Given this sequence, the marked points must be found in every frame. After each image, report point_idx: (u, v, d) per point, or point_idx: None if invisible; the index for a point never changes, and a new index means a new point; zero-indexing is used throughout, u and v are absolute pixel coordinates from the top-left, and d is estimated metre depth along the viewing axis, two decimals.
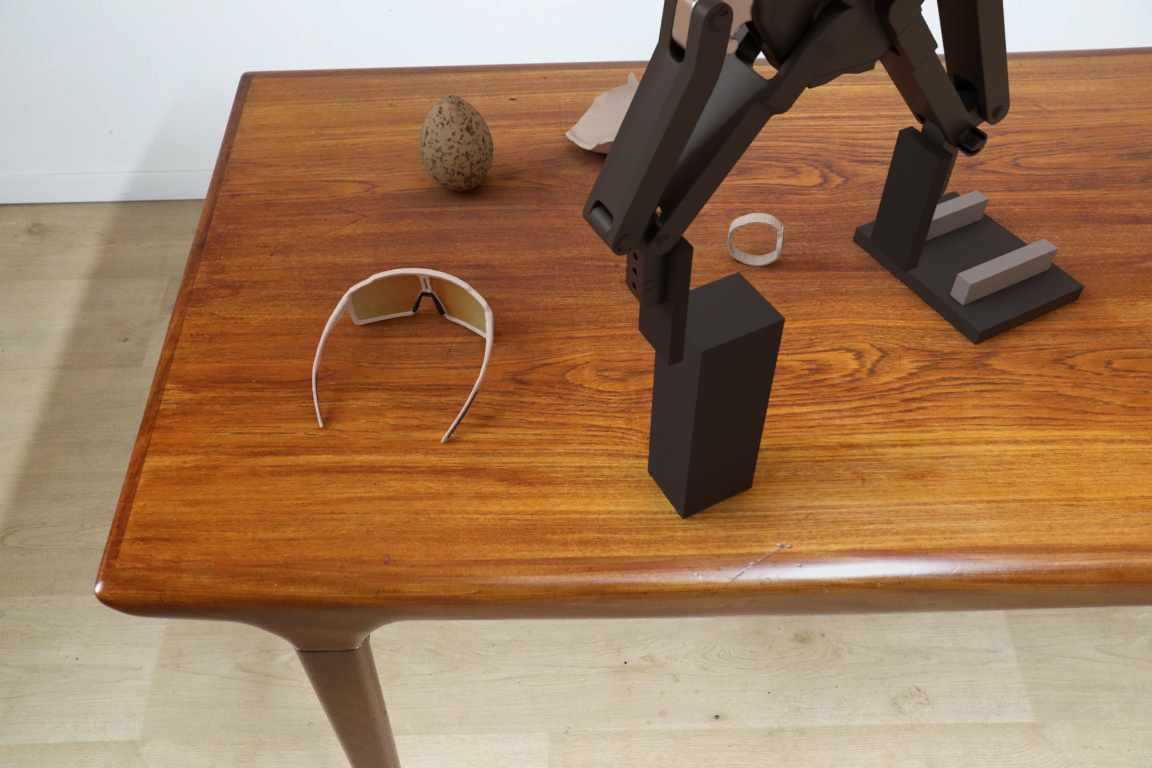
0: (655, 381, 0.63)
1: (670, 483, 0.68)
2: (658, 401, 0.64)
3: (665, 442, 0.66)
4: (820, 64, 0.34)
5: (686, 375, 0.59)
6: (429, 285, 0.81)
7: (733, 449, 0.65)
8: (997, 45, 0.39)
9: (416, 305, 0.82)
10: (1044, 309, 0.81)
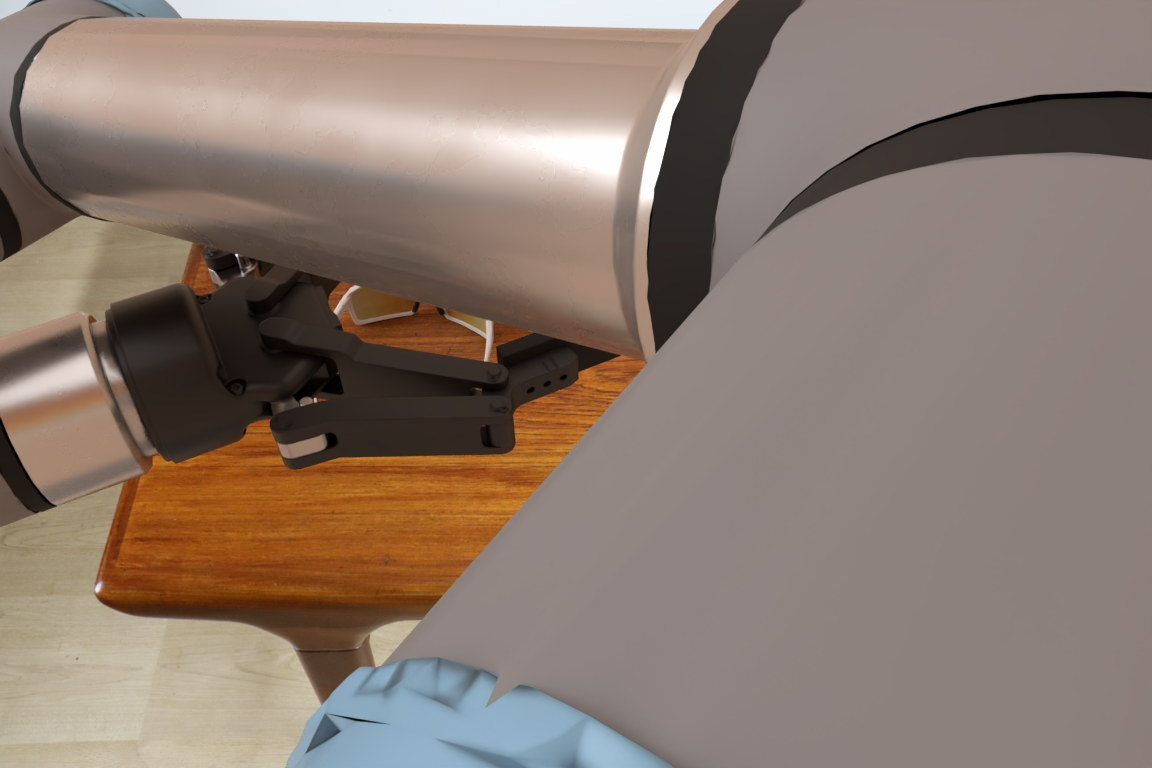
0: None
1: None
2: None
3: None
4: (309, 328, 0.41)
5: None
6: None
7: None
8: None
9: (416, 305, 0.82)
10: None
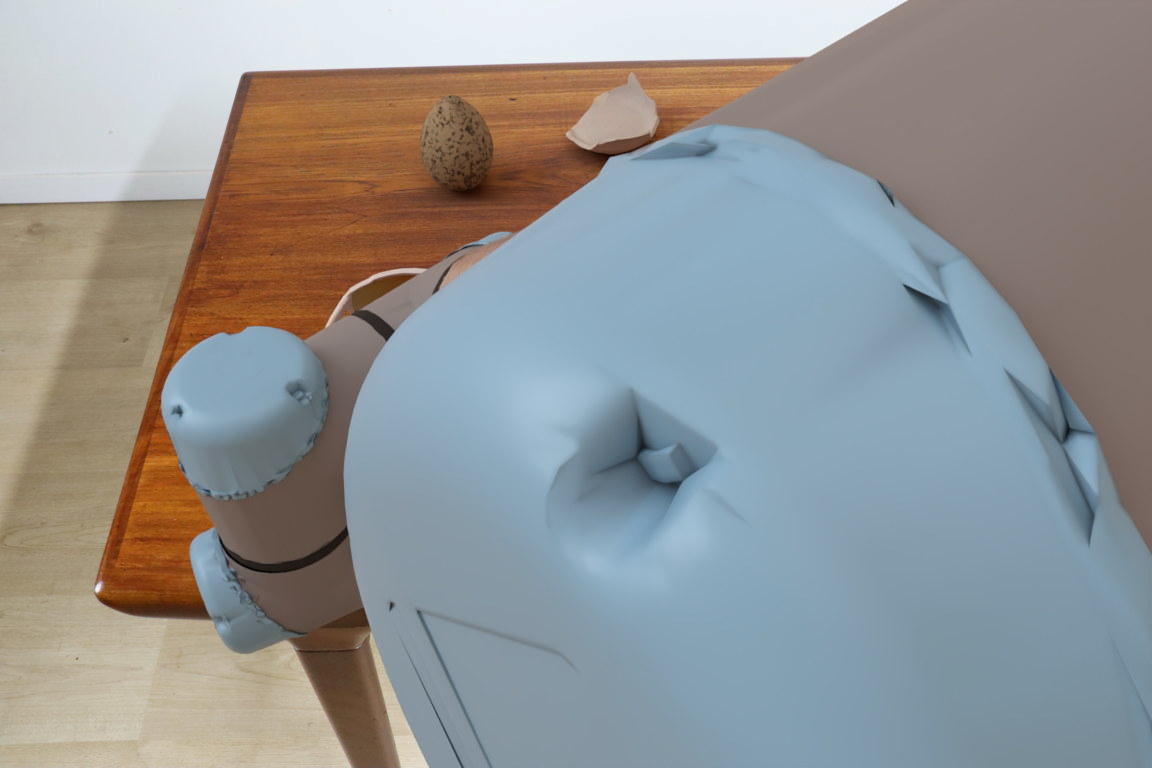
0: None
1: None
2: None
3: None
4: None
5: None
6: None
7: None
8: None
9: None
10: None
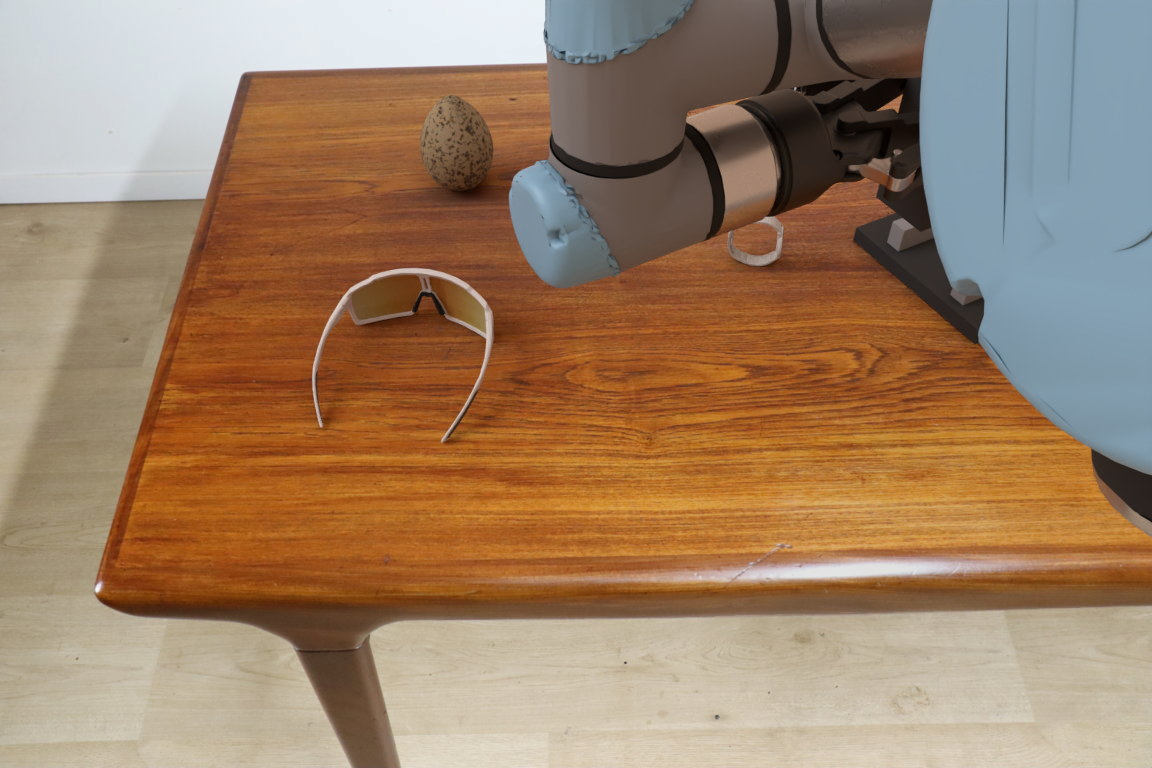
0: (910, 78, 0.65)
1: (908, 196, 0.70)
2: (909, 102, 0.66)
3: None
4: (871, 119, 0.60)
5: None
6: (429, 285, 0.81)
7: None
8: None
9: (416, 305, 0.82)
10: None
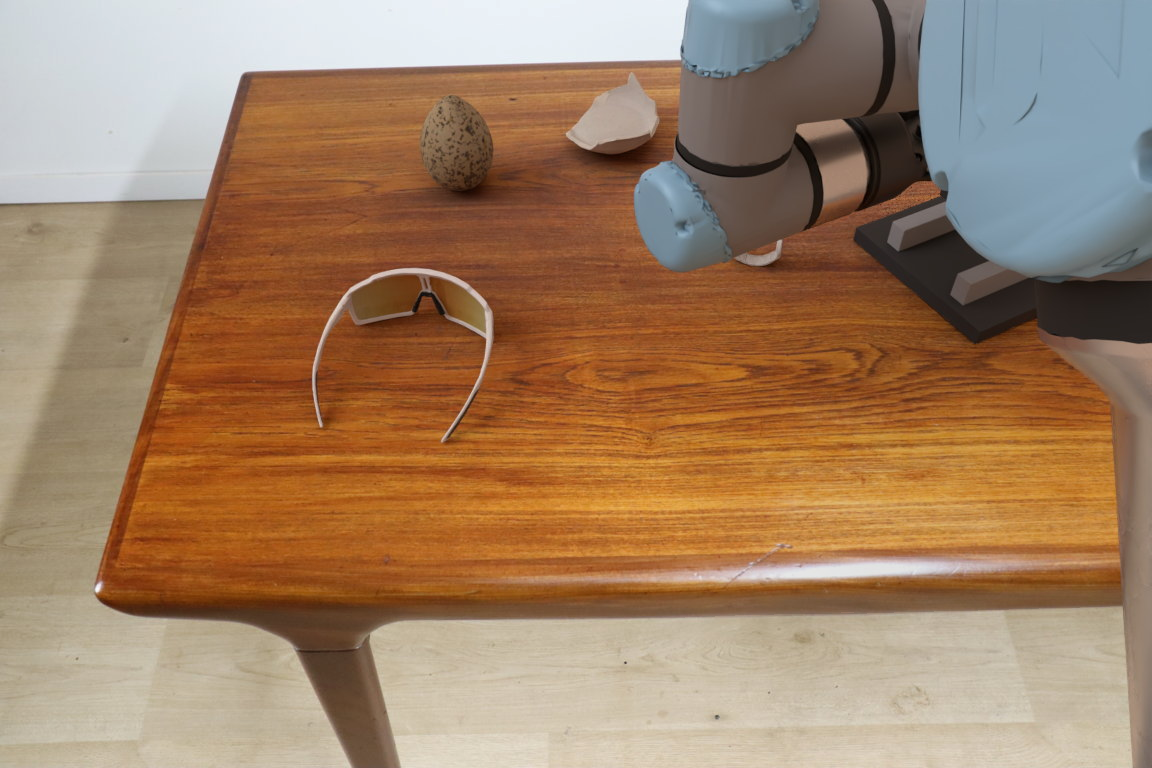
0: None
1: None
2: None
3: None
4: None
5: None
6: (429, 285, 0.81)
7: None
8: None
9: (416, 305, 0.82)
10: None
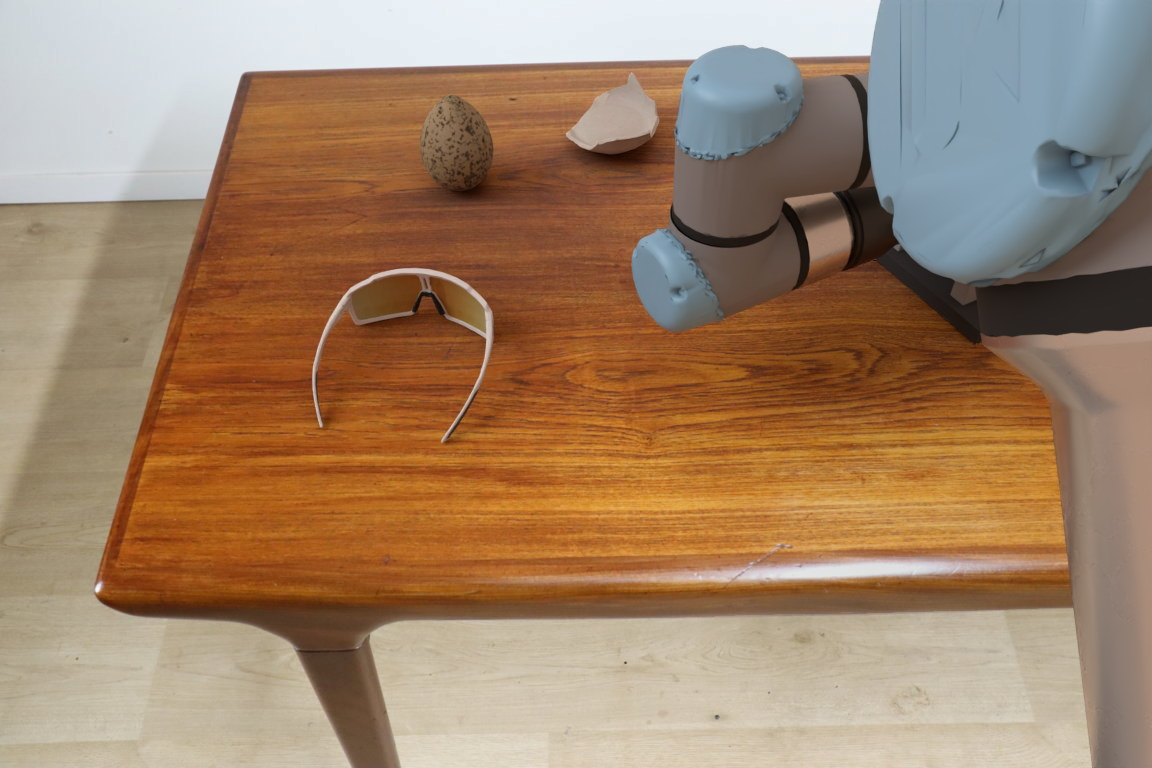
0: None
1: None
2: None
3: None
4: None
5: None
6: (429, 285, 0.81)
7: None
8: None
9: (416, 305, 0.82)
10: None
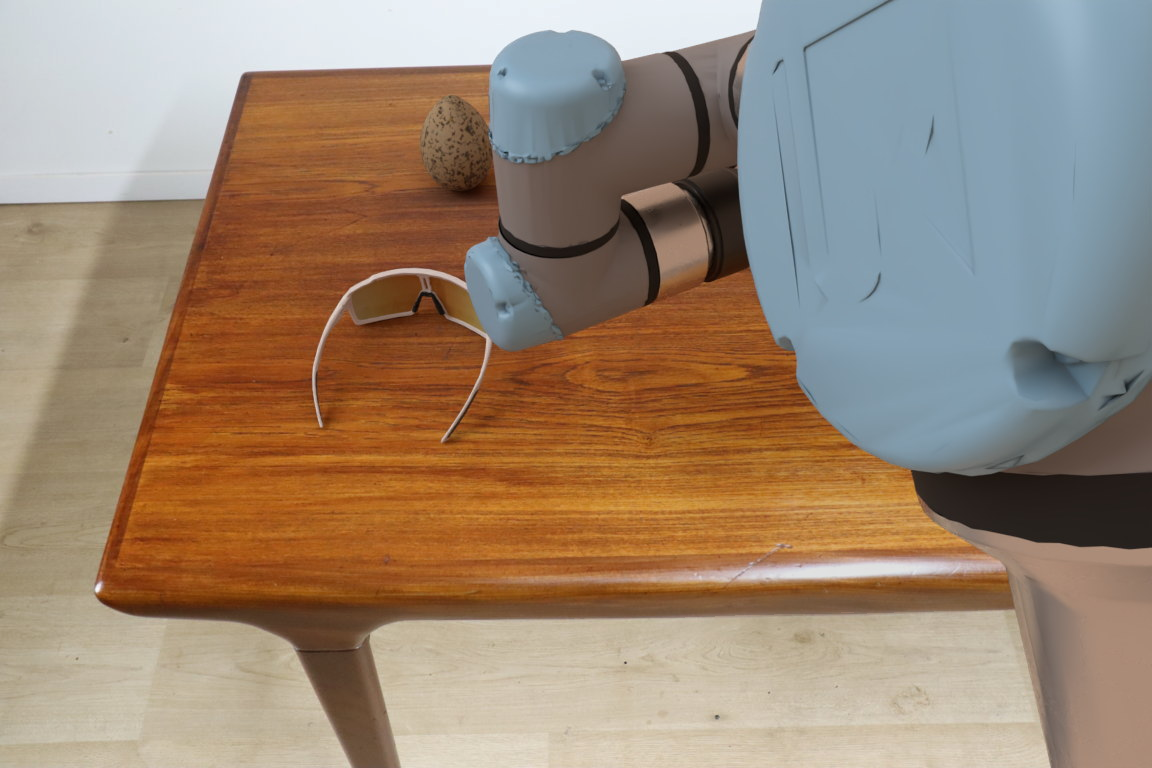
0: None
1: None
2: None
3: None
4: None
5: None
6: (429, 285, 0.81)
7: None
8: None
9: (416, 305, 0.82)
10: None
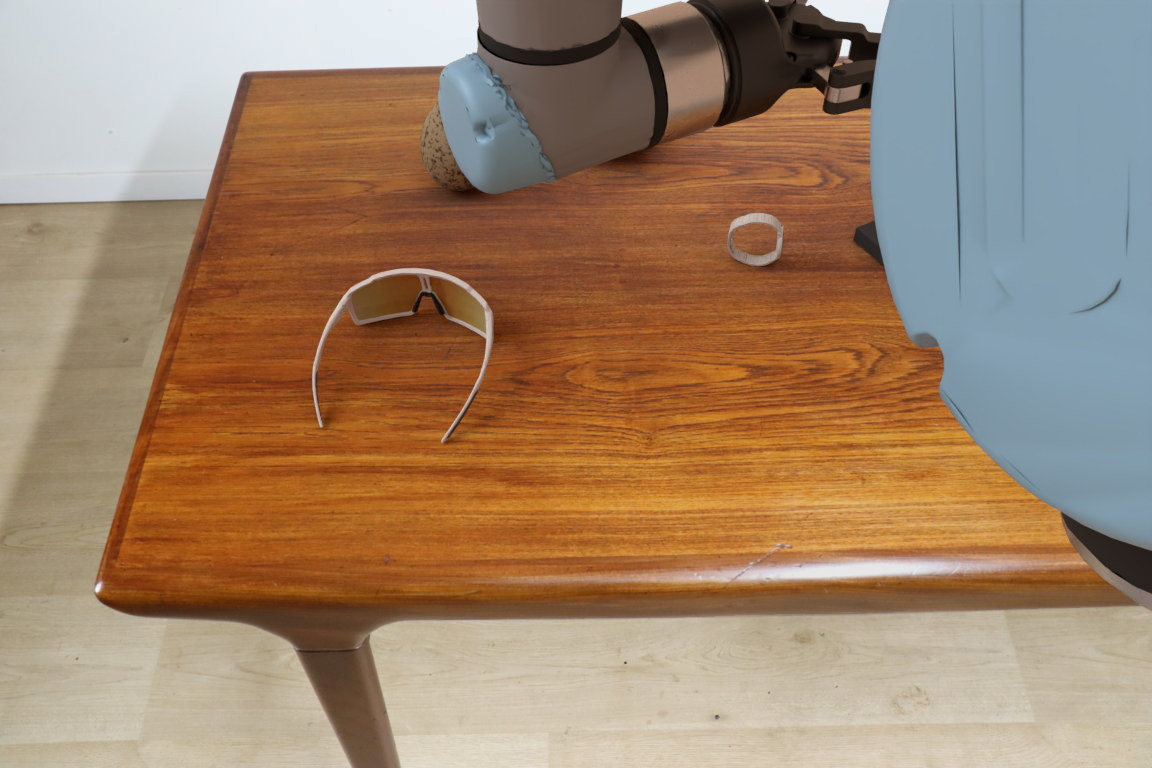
0: None
1: None
2: None
3: None
4: (828, 21, 0.56)
5: None
6: (429, 285, 0.81)
7: None
8: None
9: (416, 305, 0.82)
10: None
